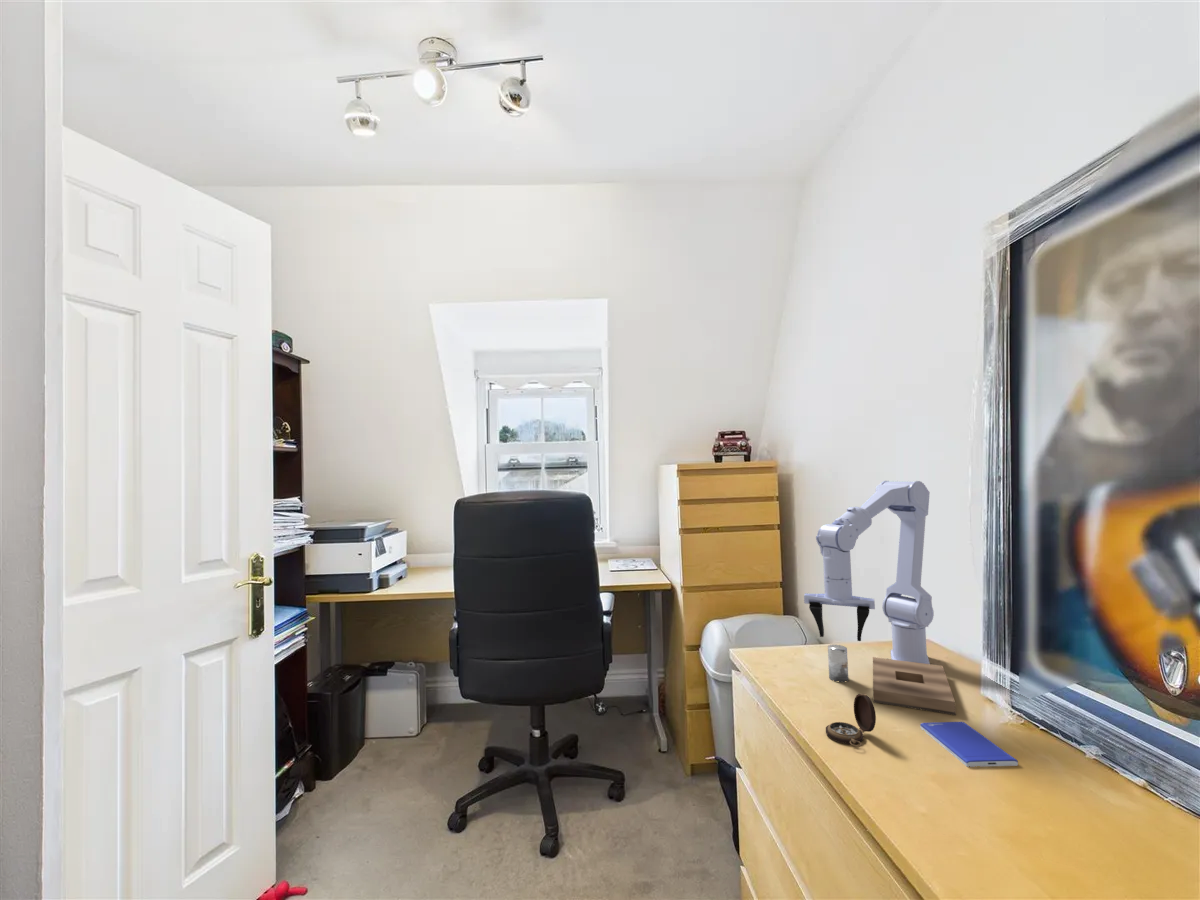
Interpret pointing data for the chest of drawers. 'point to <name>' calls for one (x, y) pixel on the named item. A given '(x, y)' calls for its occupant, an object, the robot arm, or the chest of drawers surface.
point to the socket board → (912, 685)
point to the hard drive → (967, 744)
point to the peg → (838, 663)
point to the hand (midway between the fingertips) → (840, 637)
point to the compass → (863, 718)
